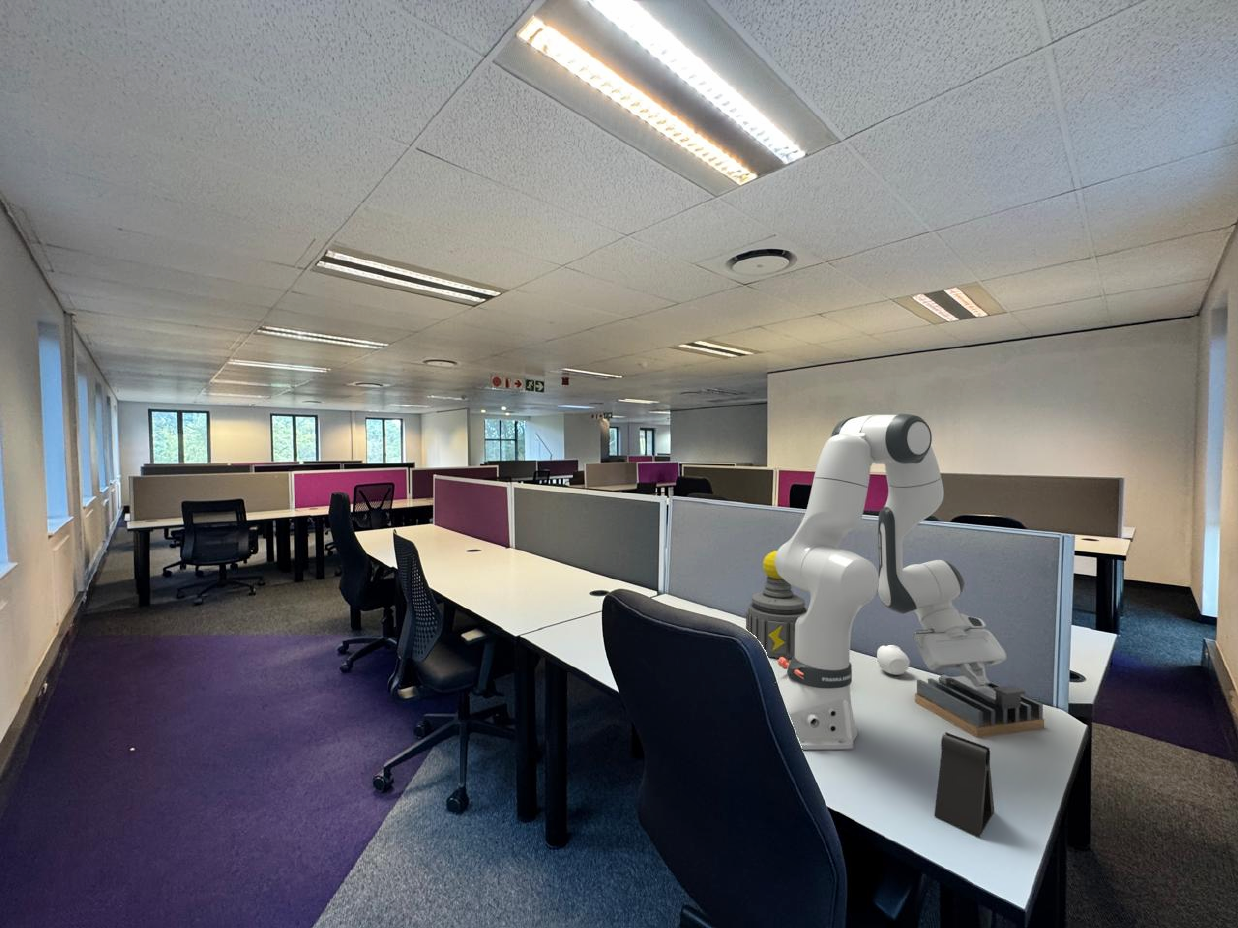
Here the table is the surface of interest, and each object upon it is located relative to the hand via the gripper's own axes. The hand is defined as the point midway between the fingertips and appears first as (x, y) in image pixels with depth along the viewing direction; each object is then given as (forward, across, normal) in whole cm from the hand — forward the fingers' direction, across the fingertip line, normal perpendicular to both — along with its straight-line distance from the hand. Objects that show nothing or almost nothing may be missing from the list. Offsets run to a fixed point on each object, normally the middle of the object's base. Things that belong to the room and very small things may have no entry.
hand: (982, 685), depth 112 cm
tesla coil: (-28, -23, +39) cm, 53 cm away
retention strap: (0, 0, +2) cm, 2 cm away
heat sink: (+4, 0, +6) cm, 7 cm away
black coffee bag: (+23, -32, -12) cm, 41 cm away
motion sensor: (-12, -2, +23) cm, 26 cm away
